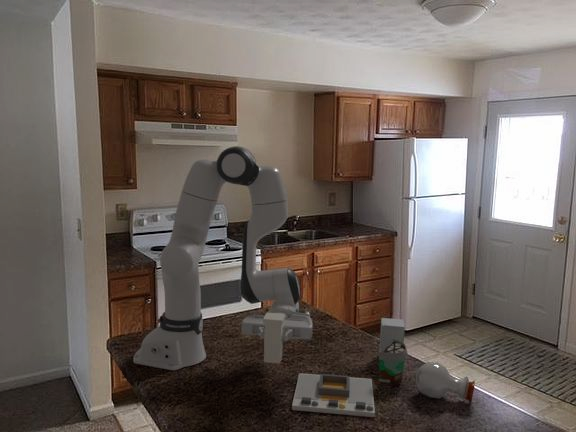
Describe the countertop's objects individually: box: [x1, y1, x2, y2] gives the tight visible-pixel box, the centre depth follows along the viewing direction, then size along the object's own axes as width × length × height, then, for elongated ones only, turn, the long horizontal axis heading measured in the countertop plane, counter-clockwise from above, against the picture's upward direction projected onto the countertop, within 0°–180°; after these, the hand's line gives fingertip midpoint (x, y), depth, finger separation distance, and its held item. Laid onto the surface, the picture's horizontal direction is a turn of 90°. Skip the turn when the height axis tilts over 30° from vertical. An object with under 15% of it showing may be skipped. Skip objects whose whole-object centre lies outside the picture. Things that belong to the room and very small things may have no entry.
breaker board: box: [291, 372, 376, 418], centre depth 127 cm, size 21×18×3 cm
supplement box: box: [378, 317, 406, 355], centre depth 150 cm, size 7×7×13 cm
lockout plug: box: [263, 312, 285, 364], centre depth 127 cm, size 5×5×12 cm
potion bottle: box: [415, 361, 476, 404], centre depth 127 cm, size 9×10×15 cm
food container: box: [378, 339, 408, 386], centre depth 137 cm, size 12×6×10 cm, turn 148°
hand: (273, 337), depth 126 cm, fingers closed on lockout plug, 4 cm apart
